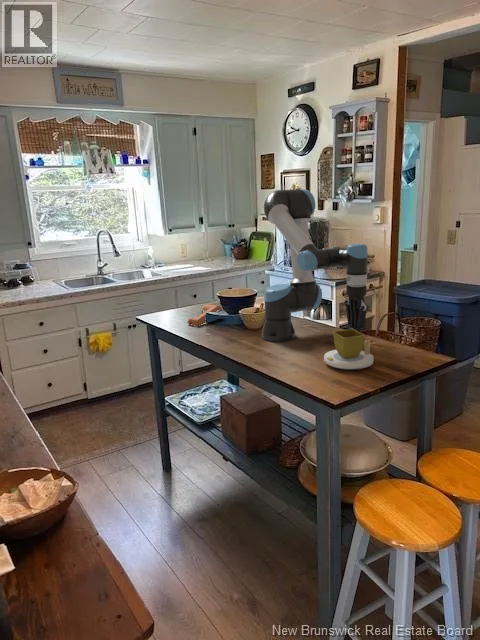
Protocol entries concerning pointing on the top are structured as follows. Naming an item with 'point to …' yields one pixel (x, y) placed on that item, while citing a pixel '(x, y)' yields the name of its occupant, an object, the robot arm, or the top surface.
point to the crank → (204, 314)
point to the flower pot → (348, 343)
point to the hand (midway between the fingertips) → (355, 344)
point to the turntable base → (348, 369)
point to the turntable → (350, 359)
